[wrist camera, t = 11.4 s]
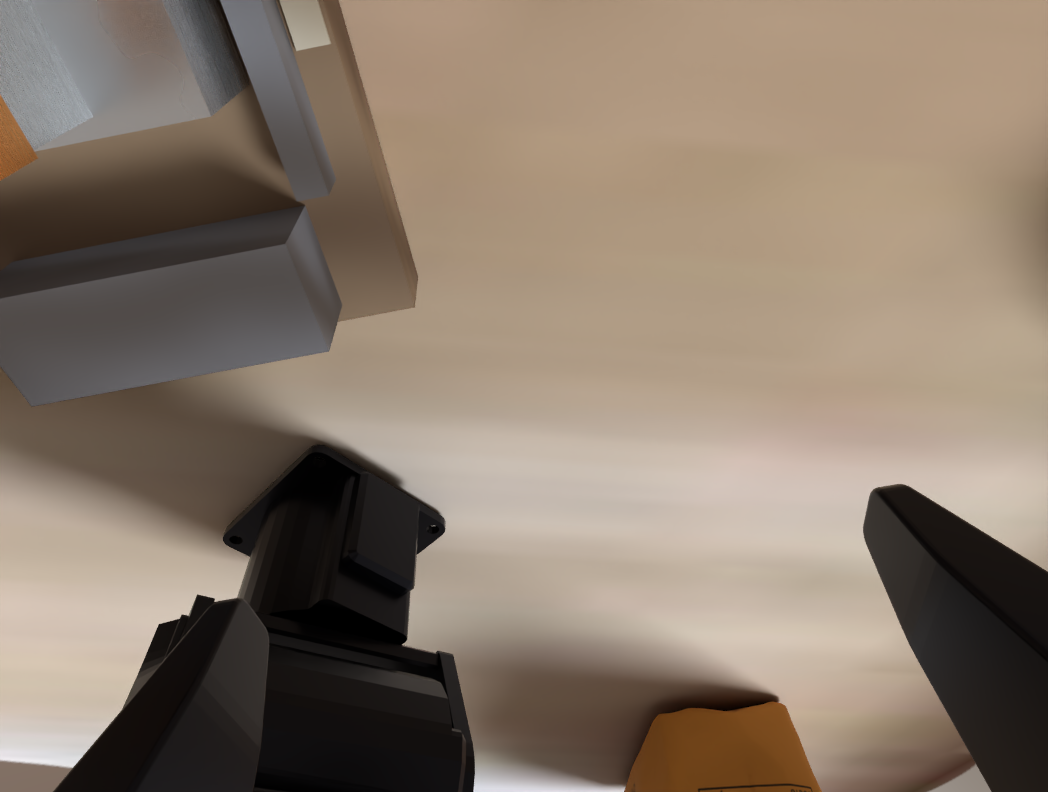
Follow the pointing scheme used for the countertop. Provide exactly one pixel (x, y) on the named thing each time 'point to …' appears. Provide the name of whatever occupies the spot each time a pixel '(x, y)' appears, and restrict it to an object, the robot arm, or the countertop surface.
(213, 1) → the sliding jaw
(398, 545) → the robot arm
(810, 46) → the countertop surface
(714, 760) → the coffee package
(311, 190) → the base
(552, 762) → the countertop surface
